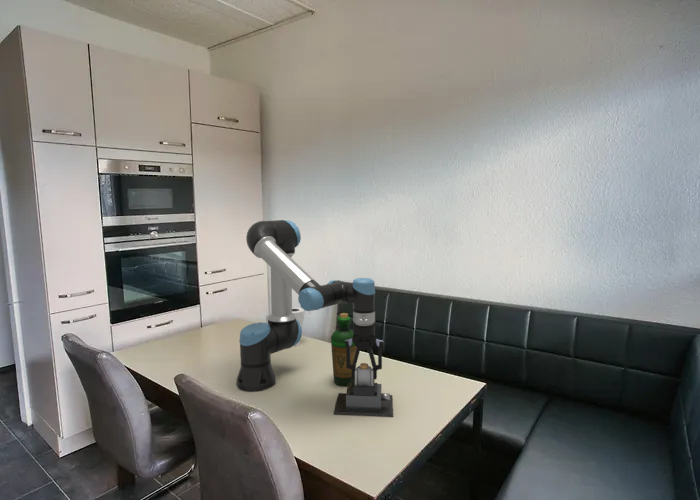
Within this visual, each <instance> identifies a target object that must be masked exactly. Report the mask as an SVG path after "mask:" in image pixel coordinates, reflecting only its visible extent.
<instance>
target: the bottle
mask: <svg viewBox="0 0 700 500" xmlns="http://www.w3.org/2000/svg"><path fill="white" fill-rule="evenodd" d="M336 323H337V324H338V329H335V331H333V332H332V334H331V335H330V347H331V358H332V371H333V373H332V374H333V382H334V384H335V385H338V386H343V387H348V383H352V382H355V379H352V370H351V369H348V368H347V367H346V345H345V340H346V339H348V340H349V339H352V337H353V329H351V328H350V325H351V323H352V321H351V317H350V316H349V313H348V312H347V313H346V312H342V313H339V316H338V317H337V322H336ZM356 349H357V347H356V346H355V344H354V343H353V342H352V345H351V356H350V364H352V365H353V361H354V357H355V353H356ZM355 368H357V366H356V367H355Z"/></svg>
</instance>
